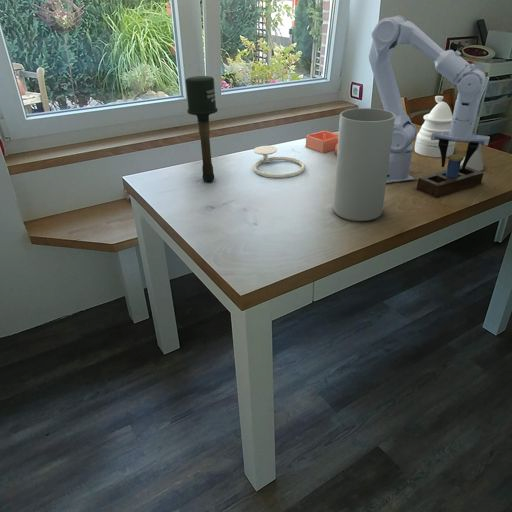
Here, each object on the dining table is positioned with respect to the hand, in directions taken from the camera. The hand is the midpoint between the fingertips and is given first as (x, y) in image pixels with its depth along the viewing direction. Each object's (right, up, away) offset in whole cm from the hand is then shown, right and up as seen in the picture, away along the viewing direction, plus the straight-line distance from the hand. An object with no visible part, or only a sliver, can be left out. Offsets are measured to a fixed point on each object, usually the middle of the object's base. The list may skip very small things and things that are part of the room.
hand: (453, 167), depth 124 cm
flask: (+12, +3, +15) cm, 20 cm away
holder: (0, -5, +3) cm, 6 cm away
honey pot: (+6, +11, +30) cm, 32 cm away
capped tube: (0, -5, +3) cm, 6 cm away
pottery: (-28, +13, +34) cm, 46 cm away
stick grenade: (-71, -2, +12) cm, 72 cm away
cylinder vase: (-29, -14, -9) cm, 34 cm away
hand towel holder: (-49, +4, +21) cm, 54 cm away
